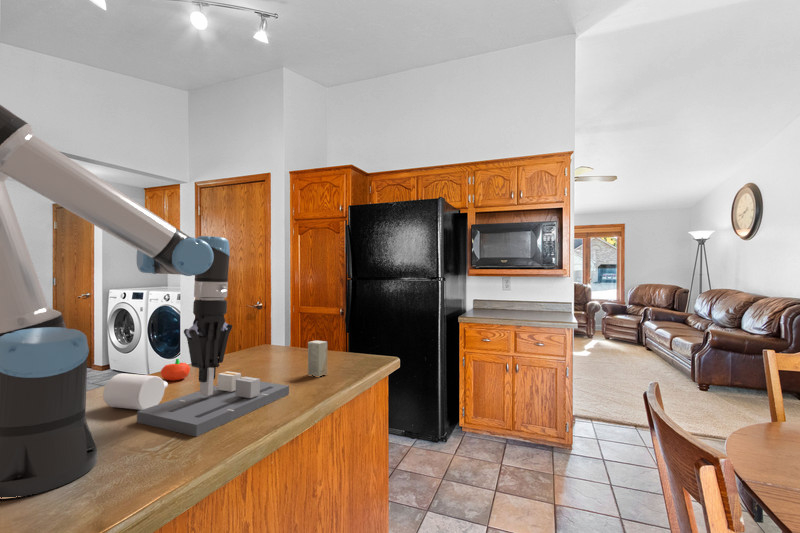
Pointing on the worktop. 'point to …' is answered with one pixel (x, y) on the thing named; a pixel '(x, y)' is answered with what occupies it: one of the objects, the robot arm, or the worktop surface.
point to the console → (207, 409)
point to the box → (317, 358)
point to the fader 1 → (227, 381)
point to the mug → (134, 391)
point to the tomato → (175, 371)
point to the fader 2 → (247, 387)
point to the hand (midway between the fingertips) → (206, 394)
